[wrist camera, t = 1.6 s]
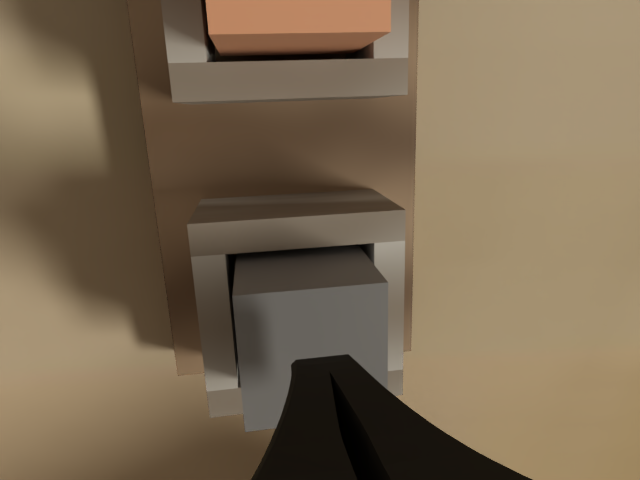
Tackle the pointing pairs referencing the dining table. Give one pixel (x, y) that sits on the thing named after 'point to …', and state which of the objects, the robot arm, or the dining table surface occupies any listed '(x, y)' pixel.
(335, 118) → the press board
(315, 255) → the grey cube
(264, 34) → the terracotta plunger
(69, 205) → the dining table surface
